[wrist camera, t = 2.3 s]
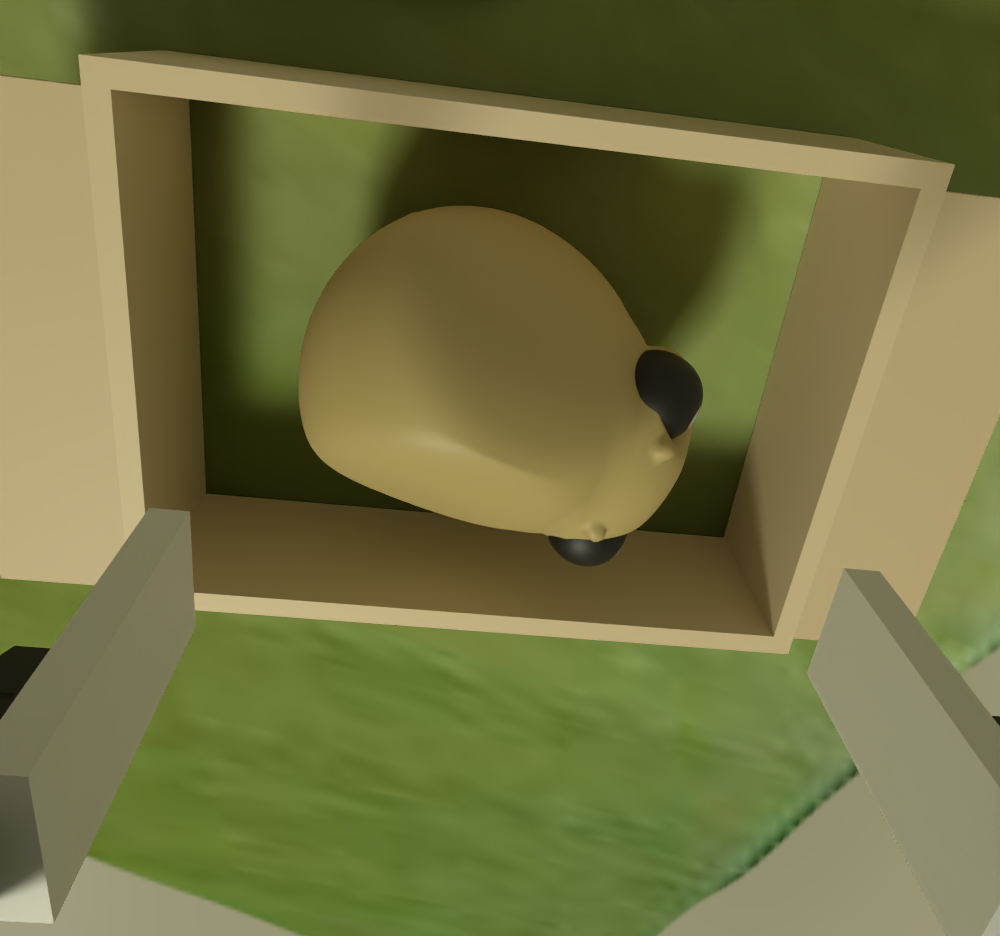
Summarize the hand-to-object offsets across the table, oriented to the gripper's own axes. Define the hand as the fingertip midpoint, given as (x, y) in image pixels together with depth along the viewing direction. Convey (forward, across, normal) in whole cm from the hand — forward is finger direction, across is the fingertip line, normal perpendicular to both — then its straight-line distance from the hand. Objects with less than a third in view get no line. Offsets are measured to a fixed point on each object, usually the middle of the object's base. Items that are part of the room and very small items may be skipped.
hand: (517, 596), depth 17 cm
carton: (+16, 0, 0) cm, 16 cm away
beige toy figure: (+16, 0, 0) cm, 16 cm away
